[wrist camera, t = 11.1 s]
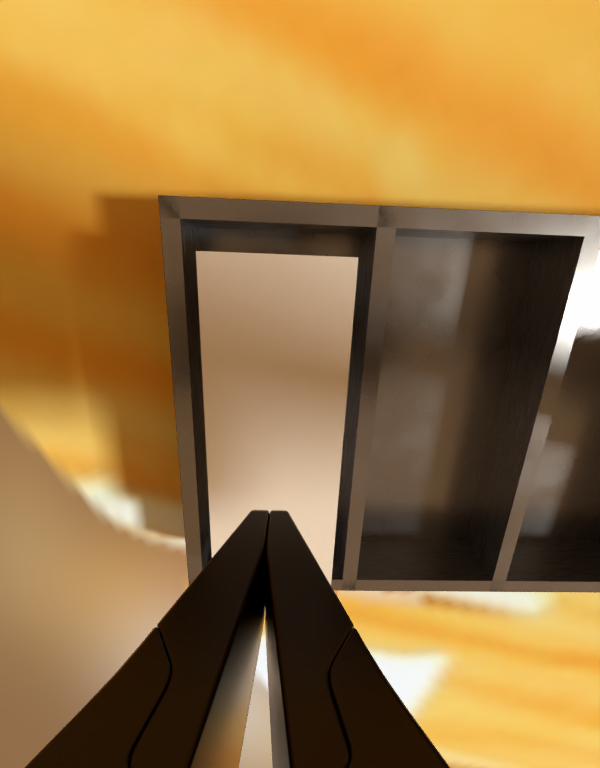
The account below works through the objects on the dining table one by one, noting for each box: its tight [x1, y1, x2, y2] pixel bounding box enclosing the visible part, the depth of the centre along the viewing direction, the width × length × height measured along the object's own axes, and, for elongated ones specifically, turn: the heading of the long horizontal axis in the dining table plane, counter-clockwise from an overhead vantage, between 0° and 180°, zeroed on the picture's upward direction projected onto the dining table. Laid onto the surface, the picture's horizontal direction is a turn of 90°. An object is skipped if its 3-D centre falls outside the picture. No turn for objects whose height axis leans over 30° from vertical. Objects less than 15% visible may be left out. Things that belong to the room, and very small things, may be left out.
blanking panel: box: [196, 251, 358, 585], centre depth 13 cm, size 4×12×5 cm, turn 178°
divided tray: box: [158, 195, 600, 595], centre depth 15 cm, size 20×16×3 cm
